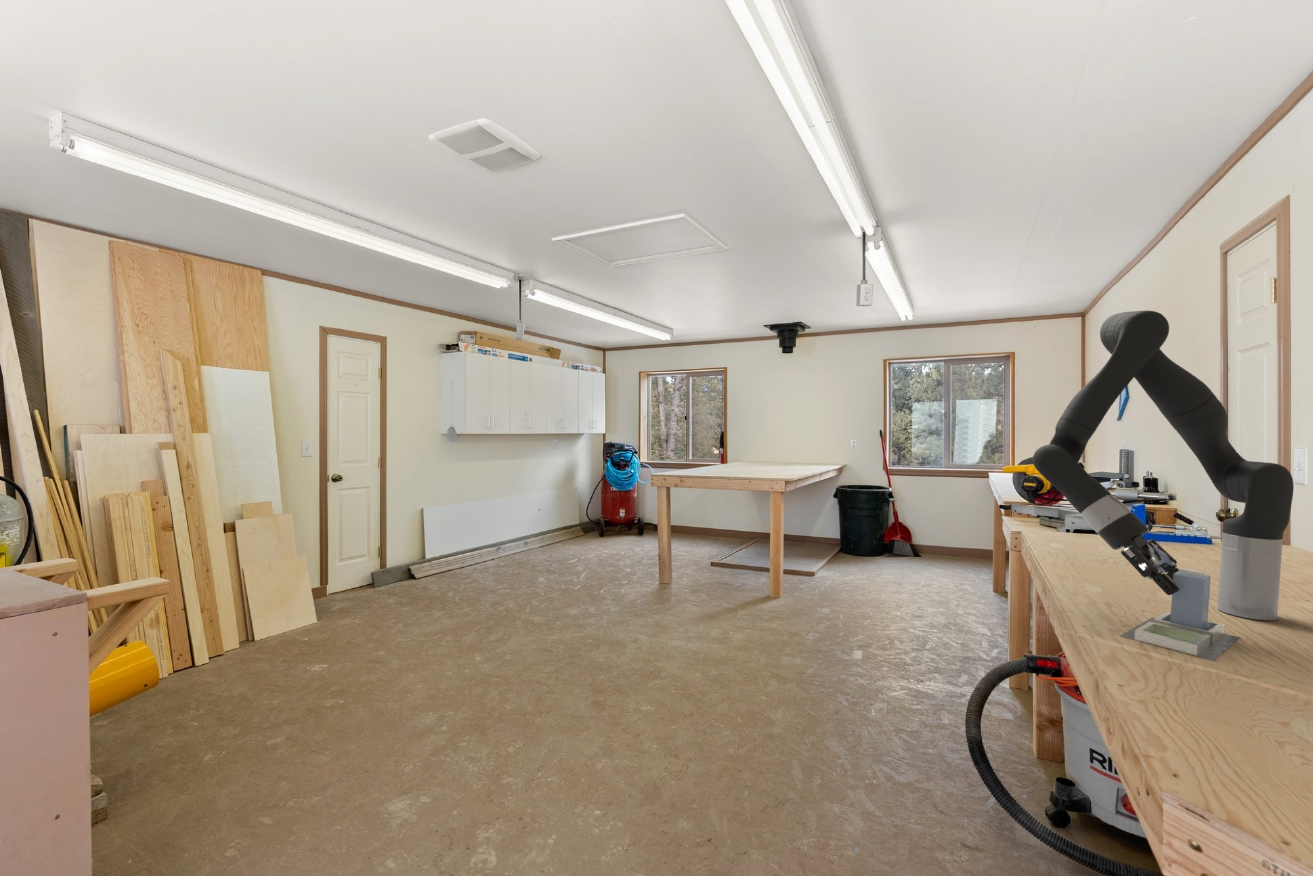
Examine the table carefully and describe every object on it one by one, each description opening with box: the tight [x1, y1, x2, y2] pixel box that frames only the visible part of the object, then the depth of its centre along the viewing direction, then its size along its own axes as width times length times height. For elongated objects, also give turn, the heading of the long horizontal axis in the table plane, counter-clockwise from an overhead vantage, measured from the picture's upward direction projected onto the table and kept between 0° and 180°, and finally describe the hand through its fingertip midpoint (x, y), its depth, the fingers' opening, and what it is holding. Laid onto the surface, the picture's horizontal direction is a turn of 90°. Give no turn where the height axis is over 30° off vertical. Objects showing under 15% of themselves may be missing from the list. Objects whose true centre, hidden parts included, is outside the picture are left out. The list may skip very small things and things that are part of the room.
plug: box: [1170, 567, 1211, 631], centre depth 114 cm, size 4×4×12 cm
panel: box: [1119, 611, 1241, 662], centre depth 111 cm, size 20×13×2 cm, turn 126°
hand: (1181, 589), depth 115 cm, fingers open, 8 cm apart
